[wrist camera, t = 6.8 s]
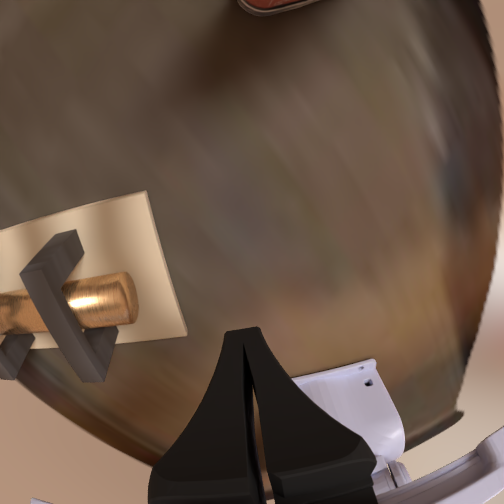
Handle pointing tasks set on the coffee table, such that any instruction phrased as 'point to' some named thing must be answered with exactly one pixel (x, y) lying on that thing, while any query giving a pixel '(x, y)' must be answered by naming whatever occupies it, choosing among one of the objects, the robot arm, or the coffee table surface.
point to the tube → (75, 305)
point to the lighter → (271, 6)
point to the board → (85, 266)
